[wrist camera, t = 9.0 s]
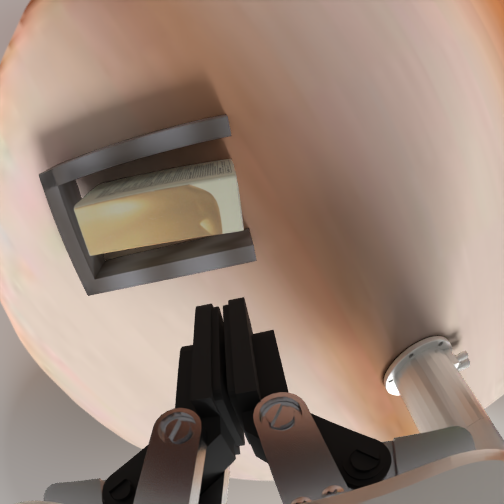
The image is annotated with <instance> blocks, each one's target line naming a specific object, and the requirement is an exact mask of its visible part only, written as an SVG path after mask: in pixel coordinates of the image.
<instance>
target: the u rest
mask: <svg viewBox="0 0 504 504" xmlns="http://www.w3.org/2000/svg"><path fill="white" fill-rule="evenodd" d="M228 136H231V131H230V126H229V121H228V116H227V115H226V114H225V115H220V116H215V117H211V118H206V119H202V120H197V121H193V122H189V123H185V124H181V125H177V126H173V127H169V128H166V129H162V130H158V131H155V132H151V133H148V134H144V135H141V136H138V137H134V138H131V139H128V140H125V141H122V142H118V143H115V144H112V145H109V146H106V147H103V148H101V149H98V150H95V151H92V152H89V153H87V154H84V155H81V156H79V157H76V158H73V159H71V160H68V161H66V162H63V163H61V164H58V165H56V166H54V167H52V168H50V169H48V170H46V171H44V172H43V173H41V174H39V177H40V180H41V183H42V186H43V189H44V192H45V195H46V198H47V201H48V204H49V207H50V209H51V212H52V215H53V217H54V220H55V223H56V225H57V228H58V230H59V233H60V235H61V238H62V240H63V243H64V245H65V247H66V250H67V252H68V254H69V257H70V259H71V261H72V263H73V266H74V268H75V270H76V272H77V274H78V276H79V278H80V281H81V283H82V285H83V287H84V289H85V291H86V293H87V295H88V296H89V295H94V294H99V293H104V292H109V291H114V290H119V289H124V288H129V287H134V286H138V285H143V284H148V283H153V282H158V281H163V280H168V279H172V278H177V277H182V276H187V275H192V274H196V273H201V272H206V271H211V270H215V269H220V268H225V267H230V266H234V265H239V264H244V263H248V262H253V261H257V260H256V255H255V250H254V245H253V242H252V238H251V234H250V230H249V228H248V229H244V230H243V231H238V232H231V233H225V234H220V235H215V236H211V237H206V238H202V239H197V240H193V241H188V242H184V243H179V244H175V245H170V246H166V247H162V248H157V249H153V250H149V251H144V252H140V253H136V254H131V255H127V256H123V257H119V258H115V259H110V260H106V261H105V259H104V257H103V254H98V255H92V256H90V255H89V252H88V249H87V246H86V244H85V241H84V238H83V235H82V232H81V229H80V226H79V223H78V220H77V217H76V214H75V211H74V206H75V205H76V204H77V203H78V202H79V201H80V200H81V199H82V198H81V195H80V192H79V189H78V186H77V183H76V180H75V179H78V178H80V177H83V176H86V175H89V174H92V173H95V172H98V171H101V170H104V169H107V168H110V167H113V166H116V165H120V164H123V163H126V162H129V161H133V160H136V159H139V158H143V157H146V156H150V155H154V154H157V153H161V152H165V151H168V150H172V149H176V148H180V147H184V146H188V145H192V144H196V143H201V142H205V141H210V140H214V139H219V138H223V137H228Z"/></svg>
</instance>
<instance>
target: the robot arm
mask: <svg viewBox="0 0 504 504" xmlns="http://www.w3.org/2000/svg"><path fill="white" fill-rule="evenodd" d="M223 319H224V322H223ZM469 366H470V361H469V359H468V353H467V352H466V351H463V352H461V353H459V354H458V355H454V354H453V353H452V346H451V343H450V342H449V341H448V340H447V339H446V338H445V337H442V336H433V337H429V338H426V339H423V340H421V341H419V342H417V343H415V344H414V345H412V346H411V347H409V348H408V349H406V350H405V351H404V352H403V353H401V354H400V355H399V356H398V357H397V358H396V359H395V360H394V362H393V363H392V364H391V365H390V367H389V368H388V370H387V372H386V374H385V377H384V386H385V388H386V390H387V391H388V392H389V393H390V394H393V395H401V397H402V399H403V401H404V403H405V405H406V407H407V409H408V411H409V413H410V415H411V417H412V418H413V420H414V422H415V424H416V426H417V428H418V430H419V432H420V434H414V435H409V436H403V437H397V438H394V439H393V441H387V442H380V441H378V440H376V439H373V438H370V437H368V436H365V435H362V434H360V433H357V432H355V431H352V430H349V429H347V428H344V427H342V426H339V425H337V424H335V423H332V422H330V421H327V420H325V419H323V418H320V417H318V416H316V415H314V414H311V413H310V411H309V409H308V407H307V405H306V404H305V402H304V401H303V400H302V399H301V398H300V397H298V396H297V395H295V394H292V393H288V388H287V384H286V380H285V376H284V372H283V368H282V363H281V359H280V355H279V351H278V347H277V343H276V338H275V334H274V330H270V331H266V332H261V333H256V334H253V332H252V327H251V323H250V319H249V315H248V311H247V307H246V303H245V299H244V297H243V298H238V299H233V300H228V305H224V306H223V318H222V315H221V312H220V309H219V307H213V305H212V304H207V305H202V306H197V307H196V310H195V324H194V339H193V345H190V346H184V347H182V348H181V350H180V358H179V368H178V379H177V391H176V404H175V409H172V410H169V411H167V412H165V413H164V414H162V415H161V416H160V417H159V418H158V419H157V420H156V422H155V424H154V427H153V430H152V434H151V437H150V441H149V444H148V445H147V446H146V447H145V448H144V449H142V451H140V452H139V453H138V454H137V455H135V456H134V457H133V458H132V459H130V460H129V461H128V462H127V463H126V464H124V465H123V466H122V467H121V468H119V469H118V470H117V471H116V472H114V473H113V474H112V475H111V476H110V477H109V478H108V479H107V480H101V479H100V478H99V479H91V480H84V481H74V482H63V483H55V484H52V485H50V486H49V487H48V488H47V490H46V491H45V494H44V501H25V502H20V503H16V504H227V495H228V484H229V474H230V468H229V465H230V464H231V463H232V462H233V461H234V460H235V459H236V457H235V455H237V454H240V448H239V446H242V445H245V440H244V433H245V436H246V438H247V440H248V442H249V444H251V446H252V449H253V451H254V453H255V455H256V457H258V458H260V459H262V460H263V461H265V462H267V463H268V464H269V467H270V470H271V473H272V475H273V478H274V481H275V484H276V486H277V489H278V492H279V494H280V497H281V500H282V502H283V504H504V440H503V438H502V437H501V435H500V434H499V432H498V431H497V429H496V428H495V426H494V424H493V423H492V421H491V420H490V418H489V416H488V415H487V413H486V412H485V410H484V409H483V407H482V405H481V404H480V402H479V401H478V399H477V398H476V396H475V395H474V393H473V392H472V390H471V389H470V387H469V386H468V384H467V383H466V381H465V380H464V378H463V377H462V376H461V374H460V373H459V371H462V370H464V369H466V368H467V367H469Z"/></svg>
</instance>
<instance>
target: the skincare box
mask: <svg viewBox="0 0 504 504" xmlns="http://www.w3.org/2000/svg"><path fill="white" fill-rule="evenodd" d="M74 211H75V214H76V217H77V220H78V223H79V226H80V229H81V232H82V235H83V238H84V241H85V244H86V246H87V249H88V252H89V255H90V256H92V255H98V254H103V253H109V252H114V251H120V250H126V249H132V248H137V247H143V246H149V245H155V244H161V243H168V242H174V241H180V240H186V239H192V238H198V237H205V236H211V235H218V234H225V233H231V232H238V231H243V230H244V227H243V218H242V210H241V202H240V194H239V187H238V182H237V177H236V172H235V169H234V164H233V162H232V159H224V160H218V161H212V162H205V163H200V164H194V165H188V166H183V167H177V168H172V169H167V170H161V171H156V172H151V173H146V174H142V175H137V176H132V177H128V178H123V179H119V180H115V181H110V182H106V183H102V184H99V185H98V186H97V187H95V188H94V189H93V190H92V191H91V192H89V193H88V194H87V195H86V196H85V197H84V198H82V199H81V200H80V201H79V202H78V203H77V204H76V205H75V206H74Z"/></svg>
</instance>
